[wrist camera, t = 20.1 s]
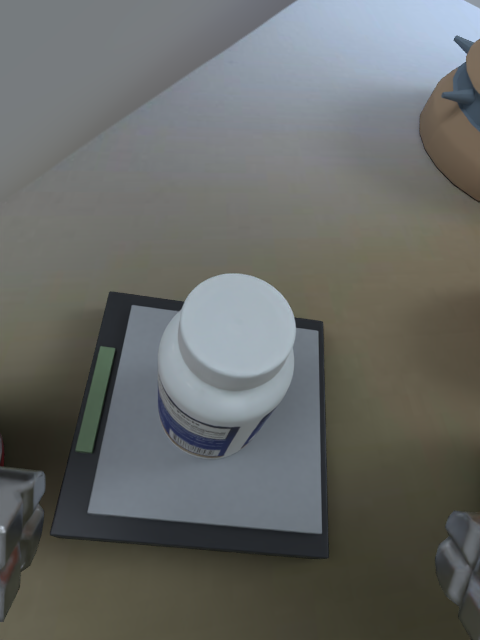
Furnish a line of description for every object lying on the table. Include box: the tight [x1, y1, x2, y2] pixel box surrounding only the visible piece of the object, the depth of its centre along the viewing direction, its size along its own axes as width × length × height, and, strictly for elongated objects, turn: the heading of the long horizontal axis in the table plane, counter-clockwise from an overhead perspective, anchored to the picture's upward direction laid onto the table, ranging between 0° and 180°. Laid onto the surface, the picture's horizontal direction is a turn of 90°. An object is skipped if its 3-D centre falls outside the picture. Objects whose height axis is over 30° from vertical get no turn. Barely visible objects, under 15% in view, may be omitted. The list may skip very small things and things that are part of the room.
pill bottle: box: [158, 273, 296, 459], centre depth 19 cm, size 5×5×10 cm
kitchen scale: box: [50, 292, 329, 559], centre depth 25 cm, size 13×13×2 cm
